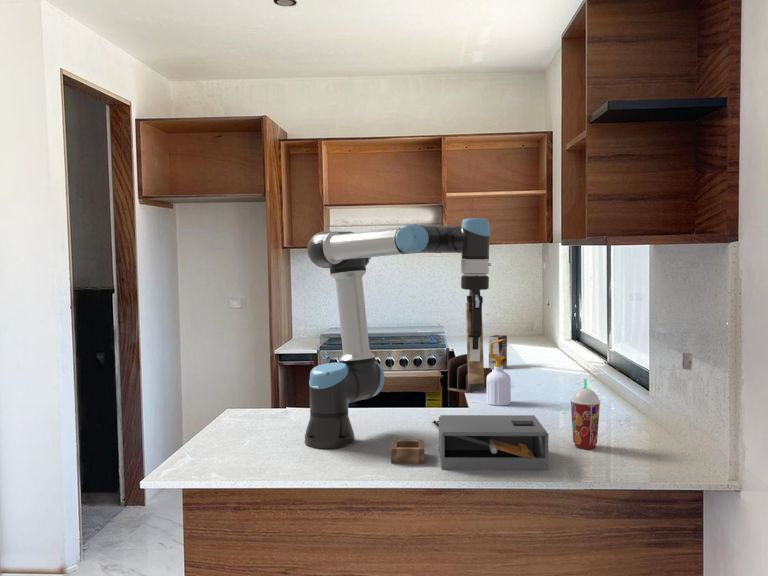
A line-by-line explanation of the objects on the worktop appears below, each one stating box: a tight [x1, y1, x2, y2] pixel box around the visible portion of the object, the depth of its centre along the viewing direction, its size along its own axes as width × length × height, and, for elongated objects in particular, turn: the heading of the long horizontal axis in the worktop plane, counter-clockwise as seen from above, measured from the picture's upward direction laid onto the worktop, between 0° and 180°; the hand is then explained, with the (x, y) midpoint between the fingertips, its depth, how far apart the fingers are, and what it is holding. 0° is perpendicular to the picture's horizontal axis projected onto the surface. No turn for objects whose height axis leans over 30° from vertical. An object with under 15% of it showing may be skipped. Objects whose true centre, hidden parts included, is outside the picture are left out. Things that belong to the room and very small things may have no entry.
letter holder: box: [447, 353, 493, 394], centre depth 277 cm, size 10×20×14 cm, turn 139°
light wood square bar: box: [465, 302, 485, 392], centre depth 179 cm, size 4×4×24 cm
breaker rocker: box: [454, 436, 536, 458], centre depth 180 cm, size 24×15×2 cm, turn 88°
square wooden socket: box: [390, 439, 425, 465], centre depth 181 cm, size 9×9×4 cm
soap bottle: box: [486, 339, 512, 407], centre depth 247 cm, size 9×9×25 cm
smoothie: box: [570, 378, 601, 450], centre depth 191 cm, size 8×8×20 cm
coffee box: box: [488, 334, 508, 370], centre depth 326 cm, size 9×6×16 cm
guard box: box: [438, 414, 549, 471], centre depth 180 cm, size 28×18×10 cm, turn 87°
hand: (473, 359), depth 180 cm, fingers closed on light wood square bar, 4 cm apart
